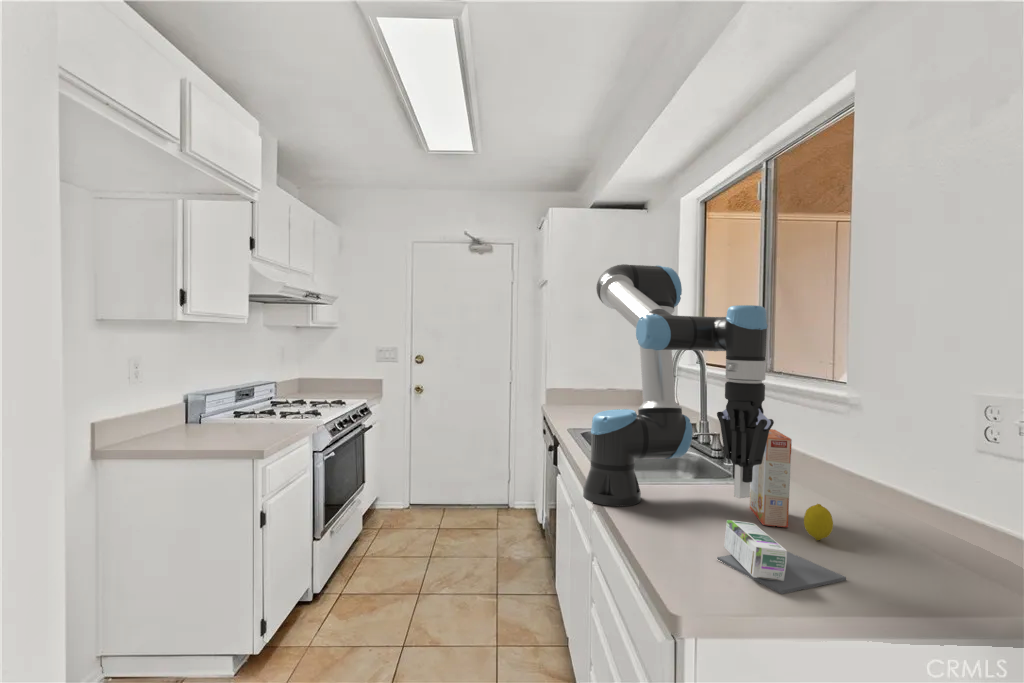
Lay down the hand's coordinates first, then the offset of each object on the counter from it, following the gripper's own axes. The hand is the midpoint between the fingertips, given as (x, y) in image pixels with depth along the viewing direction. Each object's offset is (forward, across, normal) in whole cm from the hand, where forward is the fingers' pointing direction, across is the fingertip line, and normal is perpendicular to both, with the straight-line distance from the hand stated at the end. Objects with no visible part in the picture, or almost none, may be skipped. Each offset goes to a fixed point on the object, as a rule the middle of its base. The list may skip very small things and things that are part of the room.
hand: (741, 496), depth 113 cm
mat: (+11, +9, 0) cm, 15 cm away
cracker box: (+11, -14, +23) cm, 29 cm away
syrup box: (+8, 0, -1) cm, 8 cm away
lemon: (+11, +1, +21) cm, 24 cm away
